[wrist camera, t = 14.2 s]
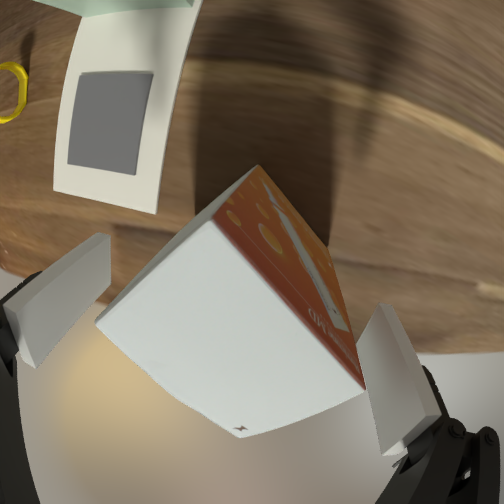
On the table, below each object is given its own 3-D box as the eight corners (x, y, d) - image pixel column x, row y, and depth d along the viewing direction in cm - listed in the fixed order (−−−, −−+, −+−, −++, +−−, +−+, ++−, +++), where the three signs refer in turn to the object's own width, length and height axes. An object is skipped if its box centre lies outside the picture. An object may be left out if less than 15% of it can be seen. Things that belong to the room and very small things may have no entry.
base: (235, -77, 10) (234, -81, 9) (156, 213, 21) (153, 215, 20) (122, -64, 10) (119, -66, 9) (55, 189, 21) (51, 191, 20)
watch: (20, 70, 16) (-21, 66, 11) (36, 62, 16) (-7, 55, 10) (15, 123, 18) (-29, 127, 13) (29, 117, 18) (-17, 119, 12)
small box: (329, 248, 20) (371, 394, 8) (262, 293, 22) (238, 442, 11) (258, 159, 18) (208, 213, 6) (192, 216, 20) (88, 326, 9)
